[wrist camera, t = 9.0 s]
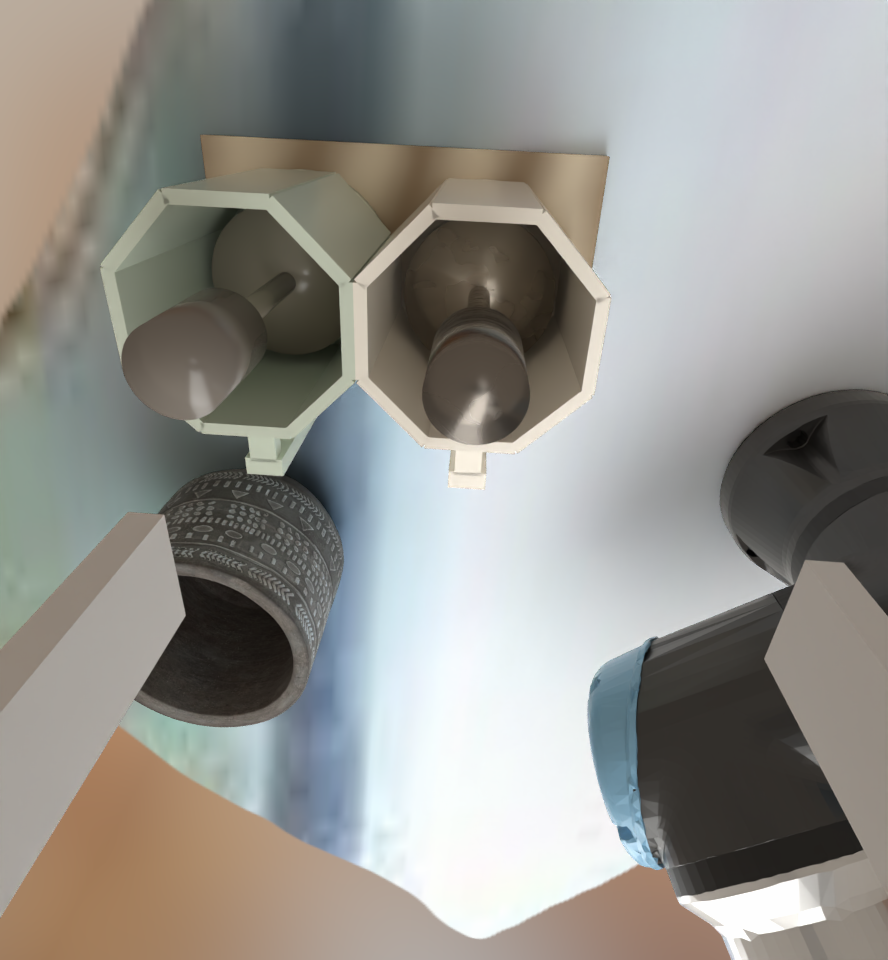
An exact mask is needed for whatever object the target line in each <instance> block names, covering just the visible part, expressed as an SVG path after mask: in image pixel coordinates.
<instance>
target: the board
mask: <svg viewBox="0 0 888 960" xmlns="http://www.w3.org/2000/svg"><path fill="white" fill-rule="evenodd" d="M200 138H201V145H202V153H203V160H204V168H205V175H206V179H209V178H214V177H219V176H224V175H229V174H234V173H239V172H244V171H249V170H254V169H259V168H271V169H308V170H315V171H327V172H336V174H337V173H339V174H340V176H341V177H342V178H343V179H344V180H345V181H346V182H347V184H348V185H350V186H351V187H352V188H353V189H355V190H356V191H357V192H359V193H360V194H361V195H362V196H363V197H364V198H365V199H366V200H367V201H368V202H369V204H370V205H371V206H372V208H373V209H374V210H375V211H376V213H377V215H378V216H379V218H380V220H381V221H382V223H383V224H384V225H385V226H386V228H387V229H388V230H389V231H390V232H391V234H390V235H392V233H393V232H394V231H395V230H396V229H397V228H398V227H399V226H400V225H401V224H402V223H403V222H404V221H405V220H406V219H407V218H408V217H409V216H410V215H411V214H412V213H413V212H414V211H415V210H416V209H417V208H418V207H419V206H420V205H421V204H422V203H423V202H424V201H425V200H426V199H427V198H428V197H429V196H430V195H431V194H432V193H433V192H434V191H435V190H436V189H437V188H438V187H439V186H440V185H441V184H442V183H443V182H444V181H445V180H446V179H447V180H448V179H449V178H456V179H492V180H499V181H511V182H525V183H526V184H528V185H529V187H530V188H531V189H532V191H533V192H534V193H535V194H536V196H537V197H538V198H539V200H540V201H541V202H542V204H543V205H544V206H545V207H546V209H547V210H548V211H549V213H550V214H551V215H552V217H553V218H554V219H555V220H556V222H557V223H558V224H559V226H560V227H561V228H562V230H563V231H564V232H565V233H566V235H567V236H568V237H569V239H570V240H571V241H572V243H573V244H574V245H575V247H576V248H577V249H578V251H579V252H580V253H581V255H582V256H583V258H584V259H585V260H586V262H587V263H588V264H589V266H590V267H591V268H592V265H593V259H594V253H595V246H596V240H597V234H598V227H599V221H600V215H601V208H602V202H603V196H604V189H605V183H606V177H607V170H608V164H609V158H610V157H609V156H602V155H583V154H564V153H545V152H526V151H507V150H488V149H470V148H451V147H432V146H413V145H394V144H375V143H356V142H337V141H318V140H299V139H280V138H261V137H242V136H223V135H200Z"/></svg>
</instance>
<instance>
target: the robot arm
mask: <svg viewBox="0 0 888 960" xmlns="http://www.w3.org/2000/svg"><path fill="white" fill-rule="evenodd" d="M720 506H721V513H722V517H723V520H724V522H725V525H726V527H727V529H728V530H729V532H730V534H731V535H732V537H733V539H734V540H735V542H736V544H737V545H738V547H739V548H740V549H741V551H742V552H743V553H744V554H745V555H746V556H747V557H748V558H749V559H750V560H751V561H752V562H754V563H755V564H756V565H758V566H759V567H761V568H762V569H764V570H765V571H767V572H768V573H770V574H771V575H773V576H774V577H776V578H777V579H779V580H780V581H782V582H783V583H785V584H786V585H788V587H786V588H784V589H781V590H779V591H776V592H774V593H771V594H768V595H766V596H763V597H761V598H758V599H756V600H753V601H751V602H748V603H746V604H743V605H741V606H738V607H736V608H733V609H731V610H728V611H726V612H723V613H721V614H718V615H716V616H713V617H711V618H708V619H706V620H704V621H701V622H699V623H696V624H694V625H691V626H689V627H686V628H684V629H681V630H679V631H676V632H674V633H671V634H669V635H666V636H664V637H661V638H658V637H653V638H650V639H648V640H646V641H645V642H644V644H643V645H642V646H640V647H638V648H636V649H634V650H631V651H629V652H627V653H625V654H623V655H621V656H619V657H617V658H614V659H612V660H610V661H608V662H607V663H605V664H604V665H603V666H602V667H601V668H600V669H599V670H598V671H597V673H596V674H595V676H594V678H593V681H592V684H591V686H590V693H589V700H588V730H589V738H590V746H591V752H592V757H593V762H594V767H595V771H596V775H597V779H598V783H599V786H600V790H601V793H602V797H603V800H604V803H605V806H606V809H607V811H608V814H609V816H610V818H611V821H612V823H613V824H615V825H617V828H618V833H619V837H620V840H621V842H622V844H623V846H624V847H625V849H626V851H627V852H628V853H629V855H630V856H631V857H632V858H633V859H634V860H635V861H636V862H637V863H639V864H640V865H642V866H645V867H651V868H653V869H656V870H659V869H662V868H666V870H667V872H668V875H669V878H670V880H671V883H672V886H673V889H674V891H675V894H676V897H677V899H678V901H679V903H680V905H682V906H683V907H685V908H686V909H688V910H689V911H691V912H693V913H694V914H696V915H697V916H699V917H700V918H702V919H703V920H705V921H706V922H708V923H710V924H711V925H712V926H713V927H714V928H715V929H716V930H717V931H718V932H719V933H720V934H721V935H722V937H723V940H724V942H725V945H726V947H727V950H728V952H729V955H730V957H731V959H732V960H888V394H884V393H880V392H875V391H867V390H844V391H835V392H829V393H825V394H821V395H817V396H814V397H811V398H808V399H805V400H802V401H800V402H798V403H795V404H793V405H791V406H789V407H787V408H785V409H784V410H782V411H780V412H778V413H777V414H775V415H774V416H772V417H771V418H769V419H768V420H767V421H765V422H764V423H763V424H761V425H760V426H759V427H758V428H757V429H756V430H755V431H753V432H752V433H751V434H750V435H749V437H748V438H747V439H746V440H745V441H744V442H743V443H742V445H741V446H740V447H739V448H738V450H737V451H736V453H735V454H734V456H733V457H732V459H731V461H730V463H729V465H728V467H727V469H726V472H725V475H724V477H723V481H722V485H721V492H720ZM185 616H186V614H185V609H184V605H183V600H182V595H181V591H180V586H179V581H178V577H177V572H176V567H175V563H174V558H173V553H172V549H171V544H170V539H169V535H168V530H167V525H166V520H165V516H164V515H162V514H148V513H134V512H128V513H127V514H126V515H125V516H124V517H123V518H122V519H121V520H120V521H119V522H118V523H117V524H116V526H115V527H114V528H113V529H112V530H111V531H110V532H109V533H108V534H107V535H106V536H105V537H104V539H103V540H102V541H101V542H100V543H99V544H98V545H97V546H96V547H95V548H94V549H93V550H92V551H91V553H90V554H89V555H88V556H87V557H86V558H85V559H84V560H83V561H82V562H81V563H80V564H79V566H78V567H77V568H76V569H75V570H74V571H73V572H72V573H71V574H70V575H69V576H68V577H67V578H66V580H65V581H64V582H63V583H62V584H61V585H60V586H59V587H58V588H57V589H56V590H55V591H54V593H53V594H52V595H51V596H50V597H49V598H48V599H47V600H46V601H45V602H44V603H43V604H42V605H41V607H40V608H39V609H38V610H37V611H36V612H35V613H34V614H33V615H32V616H31V617H30V618H29V620H28V621H27V622H26V623H25V624H24V625H23V626H22V627H21V628H20V629H19V630H18V631H17V632H16V634H15V635H14V636H13V637H12V638H11V639H10V640H9V641H8V642H7V643H6V644H5V645H4V647H3V648H2V649H1V650H0V918H1V916H2V914H3V912H4V911H5V909H6V908H7V906H8V904H9V903H10V901H11V899H12V898H13V896H14V895H15V893H16V891H17V890H18V888H19V887H20V885H21V883H22V881H23V880H24V878H25V877H26V875H27V873H28V872H29V870H30V869H31V867H32V865H33V864H34V862H35V860H36V859H37V857H38V855H39V854H40V852H41V851H42V849H43V847H44V846H45V844H46V842H47V841H48V839H49V838H50V836H51V834H52V833H53V831H54V829H55V828H56V826H57V825H58V823H59V821H60V820H61V818H62V816H63V815H64V813H65V811H66V810H67V808H68V807H69V805H70V803H71V802H72V800H73V798H74V797H75V795H76V794H77V792H78V790H79V789H80V787H81V785H82V784H83V782H84V780H85V779H86V777H87V776H88V774H89V772H90V771H91V769H92V767H93V766H94V764H95V762H96V761H97V759H98V758H99V756H100V754H101V753H102V751H103V749H104V748H105V746H106V745H107V743H108V741H109V740H110V738H111V736H112V735H113V733H114V732H115V730H116V728H117V727H118V725H119V723H120V722H121V720H122V718H123V717H124V715H125V714H126V712H127V710H128V709H129V707H130V705H131V704H132V702H133V701H134V699H135V697H136V696H137V694H138V692H139V691H140V689H141V687H142V686H143V684H144V683H145V681H146V679H147V678H148V676H149V674H150V673H151V671H152V670H153V668H154V666H155V665H156V663H157V661H158V660H159V658H160V656H161V655H162V653H163V652H164V650H165V648H166V647H167V645H168V643H169V642H170V640H171V639H172V637H173V635H174V634H175V632H176V630H177V629H178V627H179V625H180V624H181V622H182V621H183V619H184V617H185Z"/></svg>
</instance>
